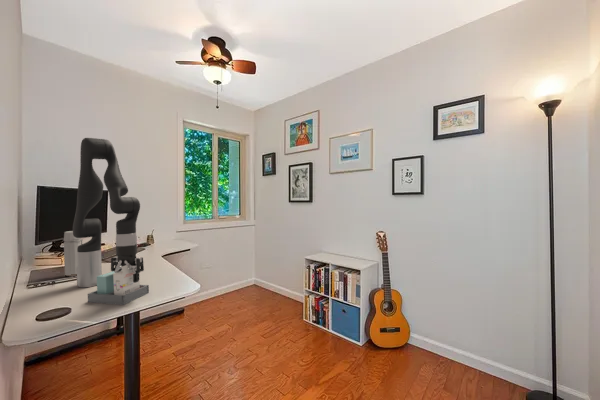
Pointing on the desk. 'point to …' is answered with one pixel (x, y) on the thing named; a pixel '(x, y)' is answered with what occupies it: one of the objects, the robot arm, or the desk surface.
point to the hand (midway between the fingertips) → (127, 281)
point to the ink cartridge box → (124, 281)
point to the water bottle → (71, 252)
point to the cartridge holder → (118, 296)
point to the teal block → (105, 283)
